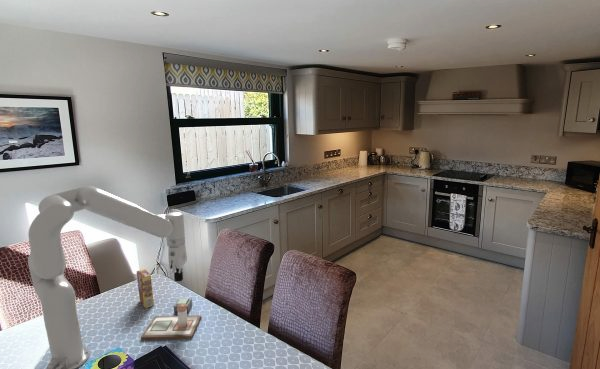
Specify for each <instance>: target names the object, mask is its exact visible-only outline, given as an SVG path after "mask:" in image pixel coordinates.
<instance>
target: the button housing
mask: <svg viewBox="0 0 600 369" xmlns="http://www.w3.org/2000/svg"><path fill="white" fill-rule="evenodd" d="M179 299H180V298H177V300H176V301H175V303H174V305H173V314H178V311H177V302H178V301H179ZM188 299H189V301H188V303H187V305H186V308H187V314H189V312H190V310H191V309H192V307H193V298H188Z"/></svg>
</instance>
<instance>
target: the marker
mask: <svg viewBox="0 0 600 369" xmlns="http://www.w3.org/2000/svg"><path fill="white" fill-rule="evenodd" d="M177 311H178V313H177V316H178V325H179V327H180V328H183V327H186V326H187V325H188V324H187V316H188V313H187V308H186V304H185V303H180V304H178V305H177Z"/></svg>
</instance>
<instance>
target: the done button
mask: <svg viewBox="0 0 600 369" xmlns="http://www.w3.org/2000/svg"><path fill="white" fill-rule="evenodd" d="M178 299H179V301H178V302H177V301H176V302H177V305H178V304H180V303H185V304H186V305H187V303H188V301H189V298H178Z"/></svg>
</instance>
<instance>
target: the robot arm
mask: <svg viewBox="0 0 600 369" xmlns="http://www.w3.org/2000/svg"><path fill="white" fill-rule="evenodd" d="M83 210H86V211H88V212H90V213H93V214H95V215H98V216H101V217H104V218H107V219H110V220H112V221H115V222H117V223H119V224H122V225H124V226H127V227H131V228H133V229H136V230H138V231H139V230H140V231H142V232H145V233H147V234H149V235H152V236H154V237H158V238H163V239H164V238H165V240H166V246H167V248H168V252H167V253H168V255H167V256H168V267H169V269H170V270H172V271H171V273H173V276H174V277H173V278H174V282H182V281H183V280H184V275H183V274H184V273H183V267H184V266H185V264H186V262H187V261H188V256H187V247H186V234H185V220H184V219H185V218H184V215H183V213H181V212H180V211H179V212H177V211H173V212H168V213H166V214H165V213H164V214H155V213H152V212H150V211H148V210H146V209H144V208H143V207H140V206H138V204H135V203H133V202H131V201H128V200H126V199H123V198H122V197H119V196H116V195H114V194H112V193H110V192H107V191H106V190H105V191H104V190H103V189H101V188H97V187H96V186H92V185H85V186H81V187H78V188H74V189H73V188H72V189H68V190H65V191H61V192H58V193H53V194H50V195H47V196H45V197H44V198H43V199H42V200H41V201H40V202H39V203H38V212H39V213H38V215H36V216H35V217H34V219H33V221H32V222H31V224H30V225H29V229H28V235H27V236H28V243H29V248H30V252H29V255H28V258H27V265H28V270H29V275H30V278H31V282H32V287H33V289H34V292H35V294H36V296H37V299H38V300H39V302H40V304H41V307H42V308H41V309H42V315H43V316H42V317H43V321H44V326H45V330H46V335H47V340H48V345H49V350H50V356H51V358H50V360H49V362H48V364H47V368H46V369H77V368H79V367H81V366H82V365H83V364H85V363H86V361H88V359H89V358H90V349H89V348H87V347H84V343H83V338H82V332H81V326H80V322H79V321H80V320H79V316H78V311H77V302H76V301H77V300H76V299H77V298H76V292H75V289H74V287H73V285H72V284H71V283H70V282H69V280H67V278H66V276H65V270H66V267H67V260H66V256H65V252H64V248H63V244H62V238H61V237H62V236H61V232H62V230H63V228H64V227H65V225H67V223H69V222H70V221H71V220H72V219H73V217H74V215H75V213H77V212H80V211H83Z"/></svg>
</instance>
